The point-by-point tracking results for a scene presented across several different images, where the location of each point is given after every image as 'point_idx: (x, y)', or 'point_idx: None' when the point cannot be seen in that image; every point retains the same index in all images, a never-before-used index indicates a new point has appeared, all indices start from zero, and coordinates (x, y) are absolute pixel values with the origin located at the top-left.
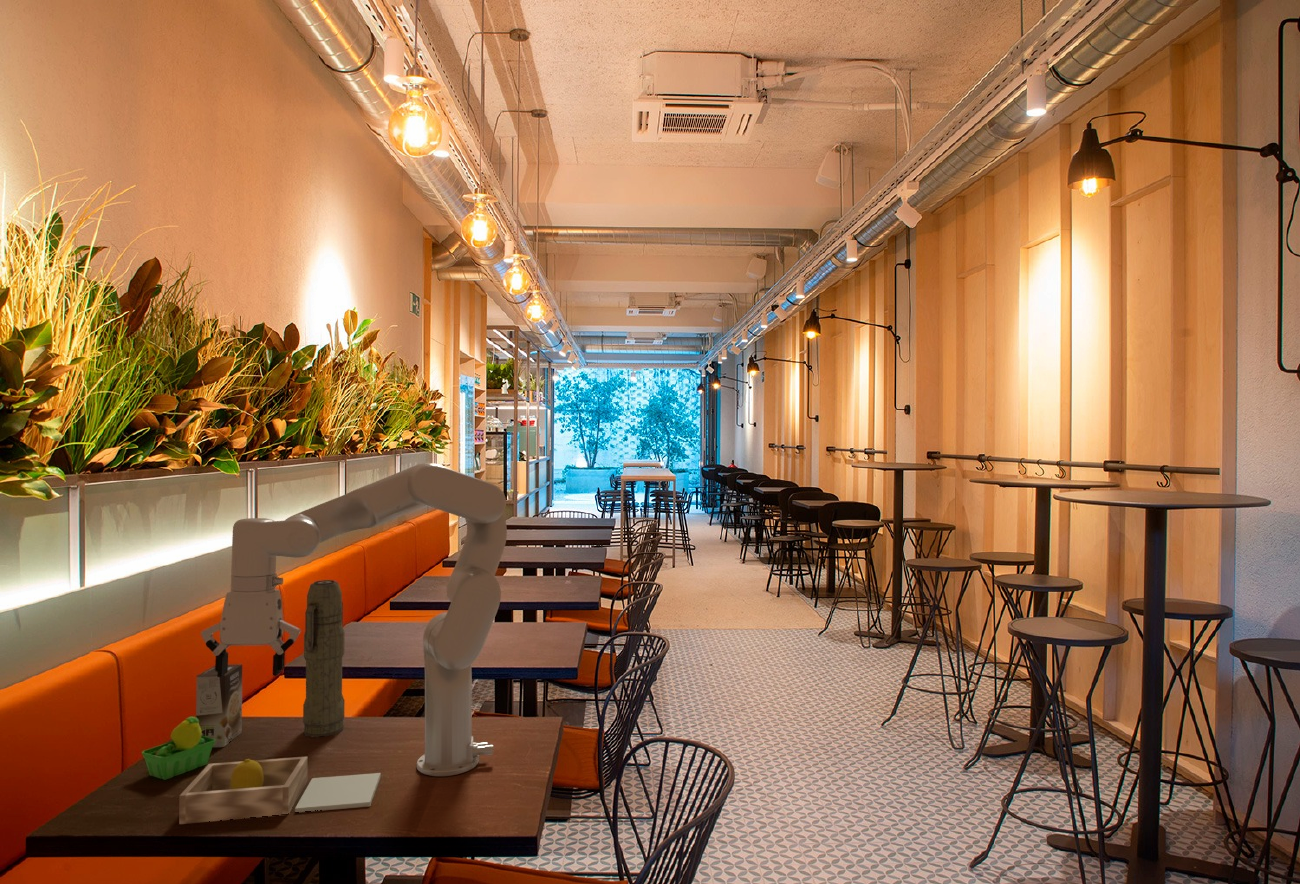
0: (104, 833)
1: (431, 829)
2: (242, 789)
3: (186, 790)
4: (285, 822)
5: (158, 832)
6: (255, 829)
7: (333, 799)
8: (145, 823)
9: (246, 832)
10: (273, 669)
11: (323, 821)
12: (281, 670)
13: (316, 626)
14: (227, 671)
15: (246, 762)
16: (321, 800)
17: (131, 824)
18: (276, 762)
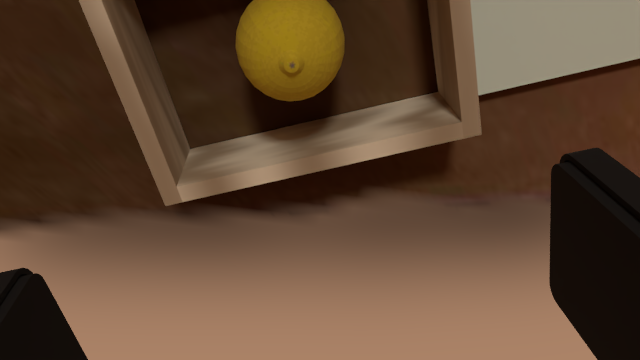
0: (21, 216)
1: None
2: (339, 157)
3: (159, 172)
4: (463, 143)
5: (158, 205)
6: (400, 179)
7: (574, 34)
8: (81, 165)
9: (384, 193)
10: (587, 333)
11: (563, 133)
12: (597, 151)
13: None
14: (35, 277)
15: (294, 74)
16: (539, 42)
17: (47, 172)
18: None
